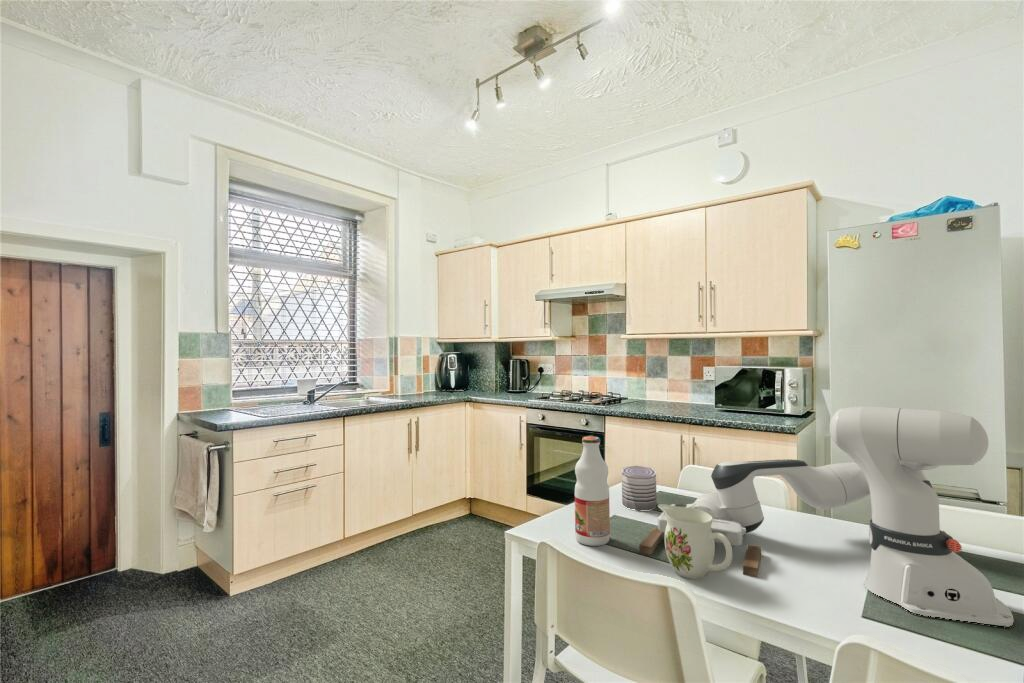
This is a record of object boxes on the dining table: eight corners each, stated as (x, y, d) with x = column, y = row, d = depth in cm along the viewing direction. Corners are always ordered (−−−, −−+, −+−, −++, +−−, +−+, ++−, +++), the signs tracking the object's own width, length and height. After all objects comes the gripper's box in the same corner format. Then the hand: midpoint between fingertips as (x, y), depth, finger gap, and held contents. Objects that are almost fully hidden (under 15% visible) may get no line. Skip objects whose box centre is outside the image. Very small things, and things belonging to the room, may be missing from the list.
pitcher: (720, 596, 99) (718, 530, 100) (646, 567, 113) (645, 509, 113) (743, 580, 106) (742, 518, 107) (671, 554, 120) (670, 499, 120)
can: (659, 502, 161) (658, 467, 162) (654, 513, 151) (654, 475, 151) (625, 499, 166) (624, 464, 166) (618, 509, 156) (618, 472, 156)
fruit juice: (604, 549, 124) (602, 441, 124) (570, 543, 128) (569, 439, 129) (614, 536, 132) (612, 436, 133) (581, 531, 136) (580, 433, 137)
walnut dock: (761, 554, 120) (761, 546, 120) (757, 577, 108) (757, 568, 108) (653, 534, 133) (653, 527, 133) (639, 552, 121) (639, 544, 121)
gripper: (747, 540, 121) (741, 560, 110) (665, 525, 132) (652, 543, 120) (746, 515, 122) (740, 533, 110) (665, 503, 132) (652, 518, 120)
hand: (694, 538), depth 115 cm, fingers closed, pressing on pitcher
